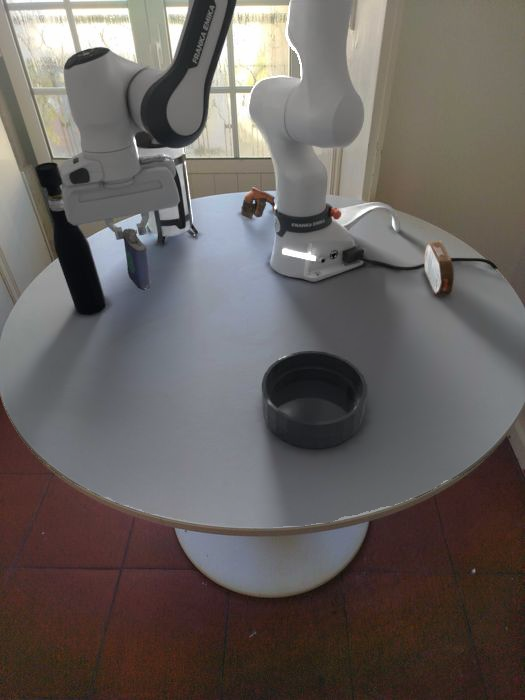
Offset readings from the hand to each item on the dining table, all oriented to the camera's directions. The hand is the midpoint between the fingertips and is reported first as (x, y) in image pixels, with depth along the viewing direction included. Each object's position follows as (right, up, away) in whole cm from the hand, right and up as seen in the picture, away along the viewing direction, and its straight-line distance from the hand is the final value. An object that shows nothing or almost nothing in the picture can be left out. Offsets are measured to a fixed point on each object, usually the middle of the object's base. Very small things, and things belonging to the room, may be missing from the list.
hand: (131, 235), depth 89 cm
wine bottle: (-12, -12, +13) cm, 22 cm away
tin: (+63, -7, +16) cm, 66 cm away
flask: (0, -8, +5) cm, 9 cm away
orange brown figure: (+24, +17, +46) cm, 55 cm away
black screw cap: (+33, -32, -12) cm, 47 cm away
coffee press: (+1, +10, +38) cm, 39 cm away
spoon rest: (+49, +10, +37) cm, 62 cm away
